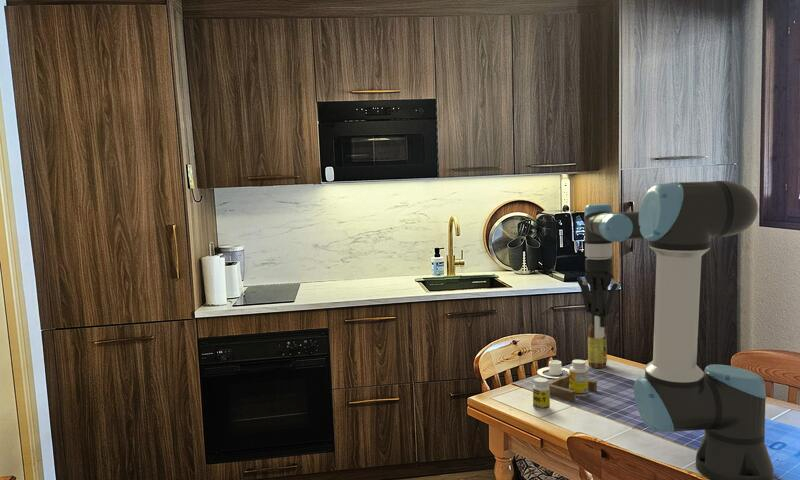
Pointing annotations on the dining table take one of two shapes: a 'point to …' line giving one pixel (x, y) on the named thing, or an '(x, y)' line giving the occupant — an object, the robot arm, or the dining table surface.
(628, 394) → the dining table surface
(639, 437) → the dining table surface
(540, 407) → the supplement bottle
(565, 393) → the pocket
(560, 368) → the candle holder
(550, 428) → the dining table surface
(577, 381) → the supplement bottle
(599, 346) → the sauce bottle
